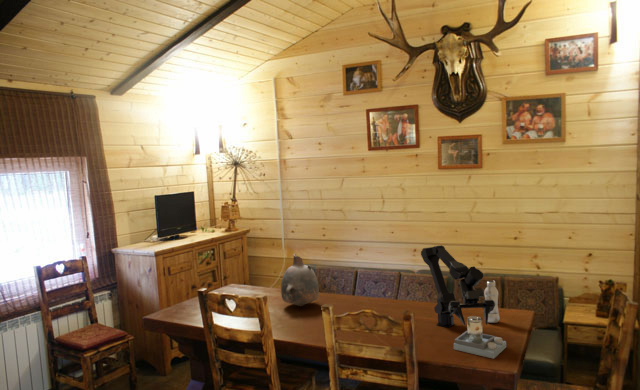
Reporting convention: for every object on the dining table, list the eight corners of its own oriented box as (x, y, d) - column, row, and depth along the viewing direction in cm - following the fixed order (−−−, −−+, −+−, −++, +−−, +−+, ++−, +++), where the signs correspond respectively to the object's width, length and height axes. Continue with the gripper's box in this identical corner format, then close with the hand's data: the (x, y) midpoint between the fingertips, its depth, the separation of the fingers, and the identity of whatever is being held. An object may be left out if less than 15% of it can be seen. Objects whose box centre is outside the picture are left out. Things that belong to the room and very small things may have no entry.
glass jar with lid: (465, 338, 205) (465, 316, 204) (480, 337, 205) (479, 315, 204) (471, 345, 197) (470, 323, 196) (486, 345, 196) (485, 322, 196)
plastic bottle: (500, 324, 227) (499, 283, 225) (485, 324, 228) (484, 283, 226) (498, 320, 233) (497, 279, 231) (484, 319, 234) (482, 279, 233)
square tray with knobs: (453, 349, 201) (453, 338, 201) (467, 338, 212) (467, 328, 211) (493, 358, 190) (493, 347, 190) (506, 347, 200) (506, 336, 200)
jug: (319, 312, 259) (316, 257, 257) (279, 314, 259) (276, 259, 257) (319, 299, 283) (317, 249, 281) (283, 300, 284) (281, 251, 281)
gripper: (449, 282, 204) (455, 316, 194) (493, 281, 203) (502, 314, 193) (445, 295, 213) (452, 328, 203) (488, 294, 212) (496, 327, 202)
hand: (475, 324), depth 200 cm, fingers open, 9 cm apart
